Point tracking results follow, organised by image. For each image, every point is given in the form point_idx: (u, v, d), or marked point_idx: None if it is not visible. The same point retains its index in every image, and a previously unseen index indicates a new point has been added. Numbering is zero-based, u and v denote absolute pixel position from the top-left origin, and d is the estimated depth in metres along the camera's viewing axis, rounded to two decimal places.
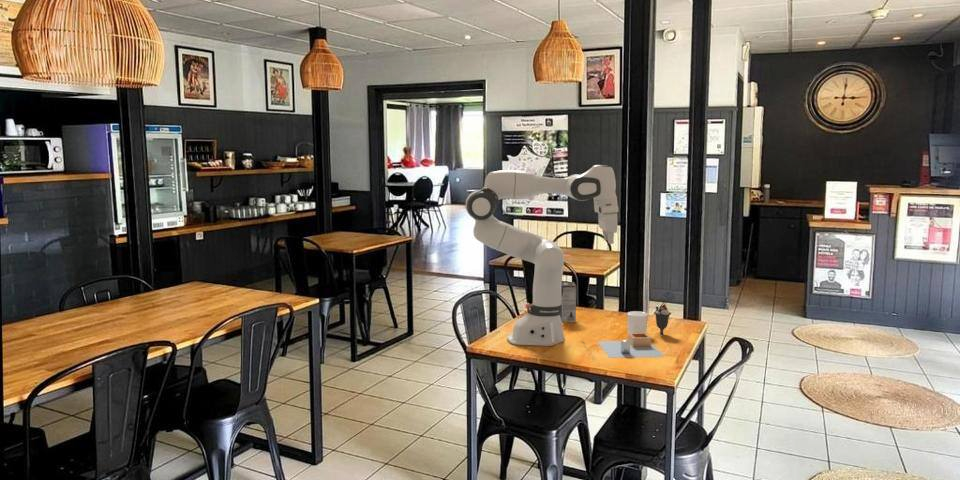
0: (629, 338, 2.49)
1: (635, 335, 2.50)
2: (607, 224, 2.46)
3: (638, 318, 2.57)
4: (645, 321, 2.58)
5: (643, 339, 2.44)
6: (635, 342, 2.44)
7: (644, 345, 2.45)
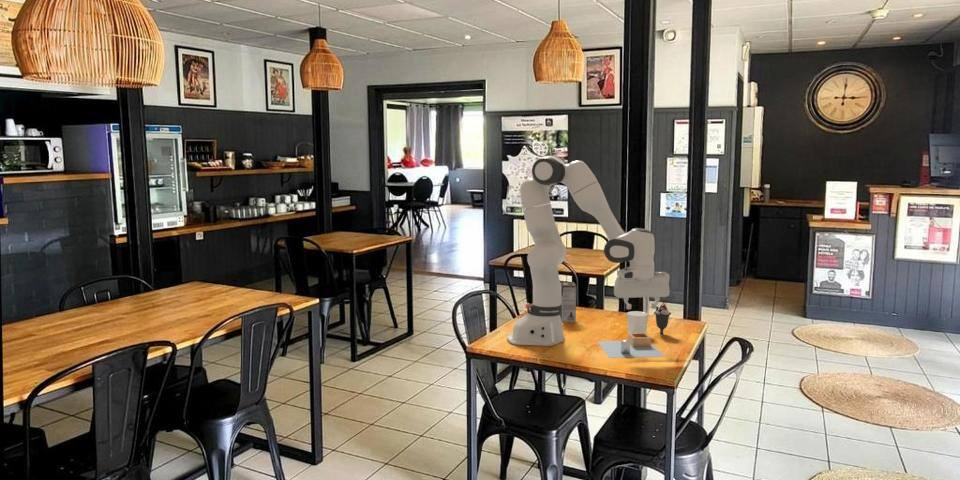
0: (629, 338, 2.49)
1: (635, 335, 2.50)
2: (614, 287, 2.46)
3: (638, 318, 2.57)
4: (645, 321, 2.58)
5: (643, 339, 2.44)
6: (635, 342, 2.44)
7: (644, 345, 2.45)
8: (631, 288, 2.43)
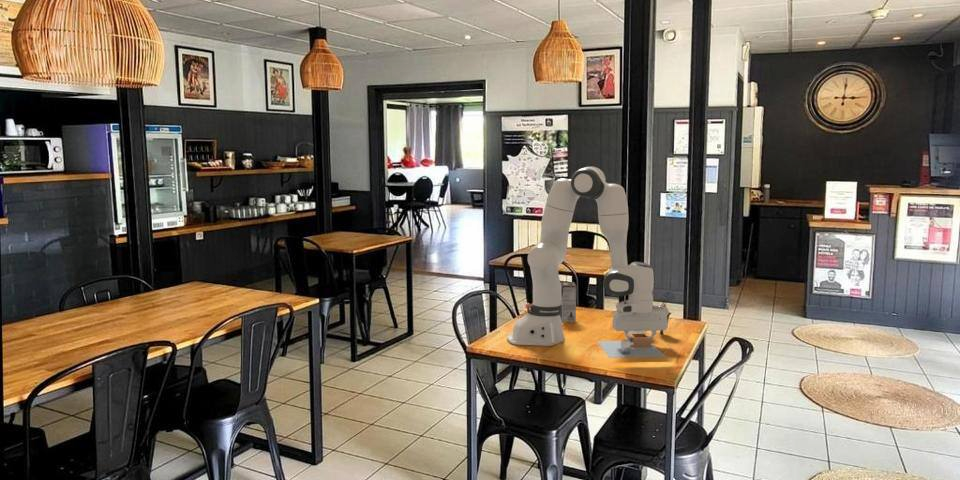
0: None
1: (635, 335, 2.50)
2: (613, 319, 2.48)
3: None
4: None
5: (643, 339, 2.44)
6: (635, 342, 2.44)
7: (644, 345, 2.45)
8: (630, 322, 2.45)
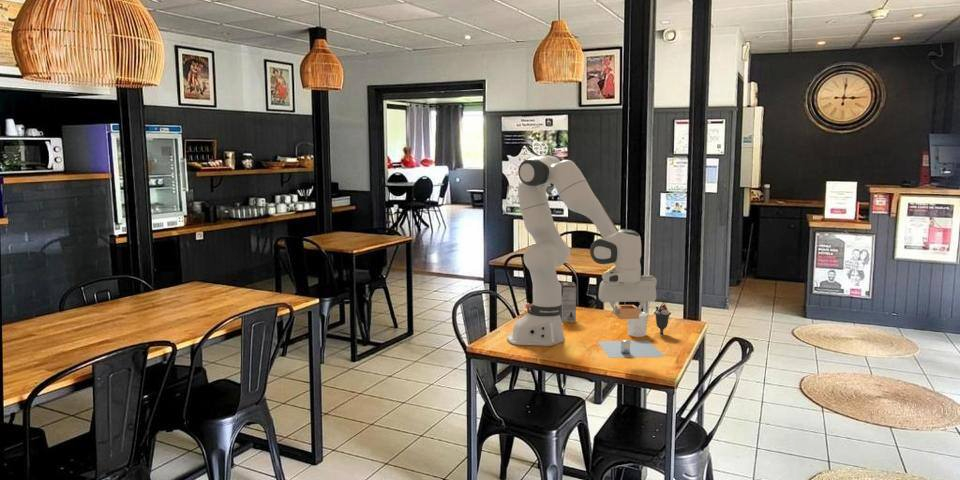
0: None
1: (622, 307, 2.38)
2: (599, 290, 2.36)
3: None
4: (645, 321, 2.58)
5: (630, 310, 2.32)
6: (622, 313, 2.32)
7: (631, 317, 2.33)
8: (617, 292, 2.33)
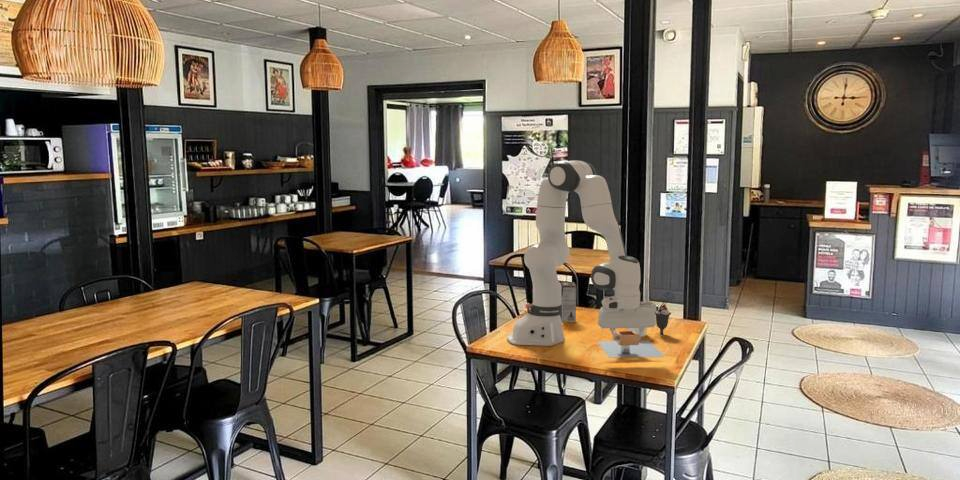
0: None
1: (622, 333, 2.39)
2: None
3: None
4: None
5: (630, 337, 2.33)
6: (622, 340, 2.33)
7: (631, 343, 2.34)
8: (616, 319, 2.34)
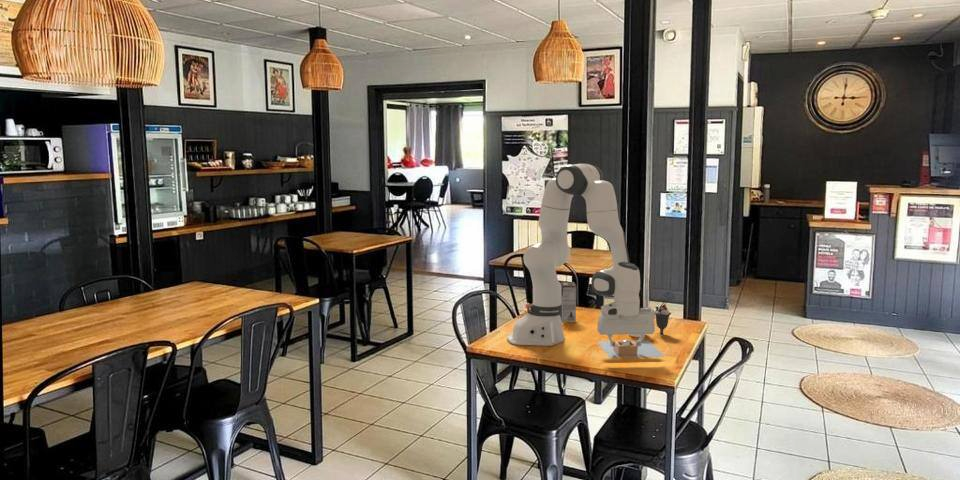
0: (614, 346, 2.39)
1: None
2: (598, 323, 2.38)
3: None
4: None
5: (629, 347, 2.34)
6: (620, 350, 2.34)
7: (630, 353, 2.34)
8: (615, 325, 2.34)
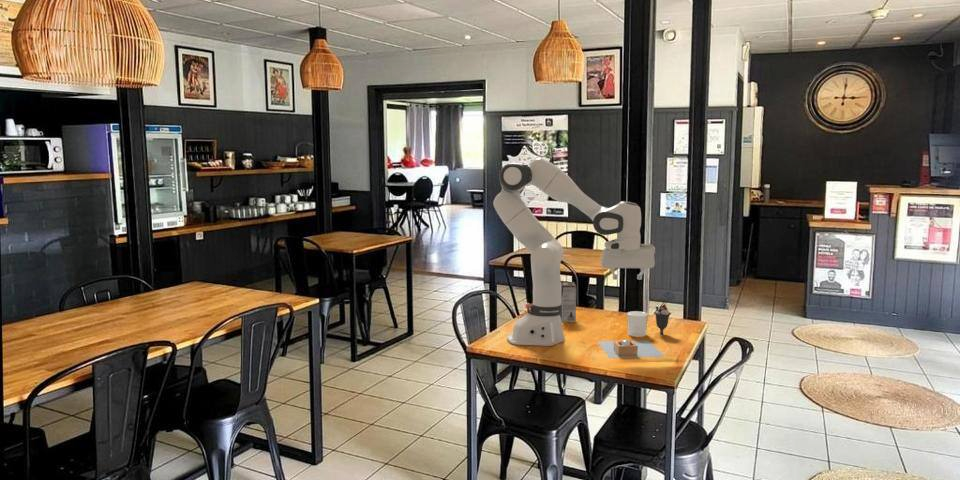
0: (614, 346, 2.39)
1: None
2: None
3: (638, 318, 2.57)
4: (645, 321, 2.58)
5: (629, 347, 2.34)
6: (620, 350, 2.34)
7: (630, 353, 2.34)
8: (618, 259, 2.52)
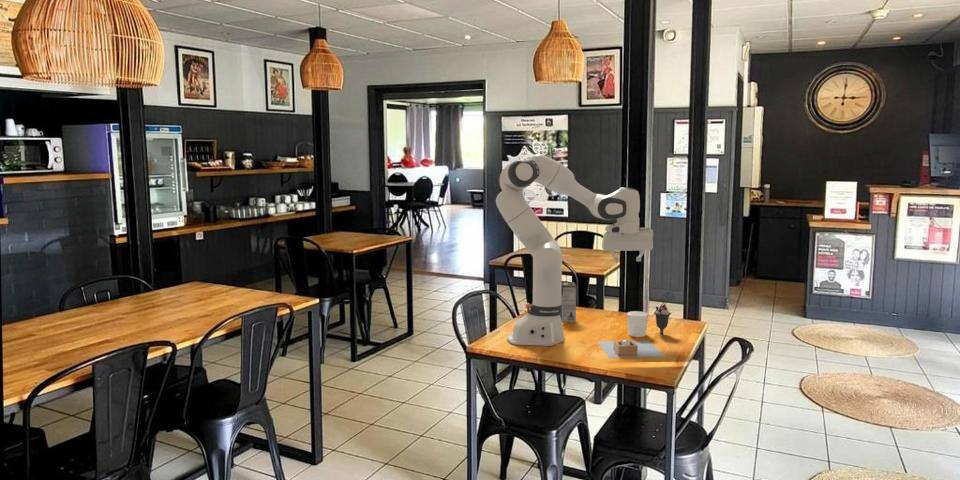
0: (614, 346, 2.39)
1: None
2: (602, 241, 2.68)
3: (638, 318, 2.57)
4: (645, 321, 2.58)
5: (629, 347, 2.34)
6: (620, 350, 2.34)
7: (630, 353, 2.34)
8: (618, 242, 2.65)
